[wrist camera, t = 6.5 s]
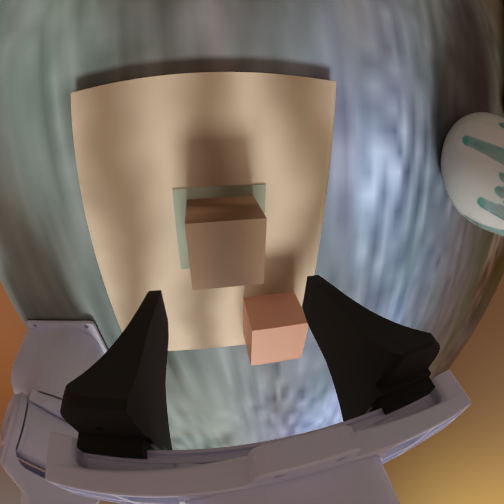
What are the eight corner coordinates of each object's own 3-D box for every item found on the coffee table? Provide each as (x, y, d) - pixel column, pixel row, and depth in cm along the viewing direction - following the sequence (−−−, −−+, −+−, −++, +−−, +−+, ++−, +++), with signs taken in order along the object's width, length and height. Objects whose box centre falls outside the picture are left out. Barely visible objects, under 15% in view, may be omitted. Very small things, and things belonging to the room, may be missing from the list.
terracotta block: (243, 333, 26) (250, 365, 23) (243, 297, 24) (252, 330, 20) (288, 327, 27) (300, 357, 23) (294, 291, 24) (309, 322, 21)
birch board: (131, 345, 26) (130, 352, 25) (76, 93, 13) (70, 93, 12) (299, 329, 29) (302, 336, 28) (329, 82, 16) (336, 81, 16)
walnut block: (192, 257, 20) (192, 290, 17) (186, 199, 18) (184, 224, 15) (252, 252, 21) (263, 283, 18) (253, 195, 19) (266, 218, 16)
